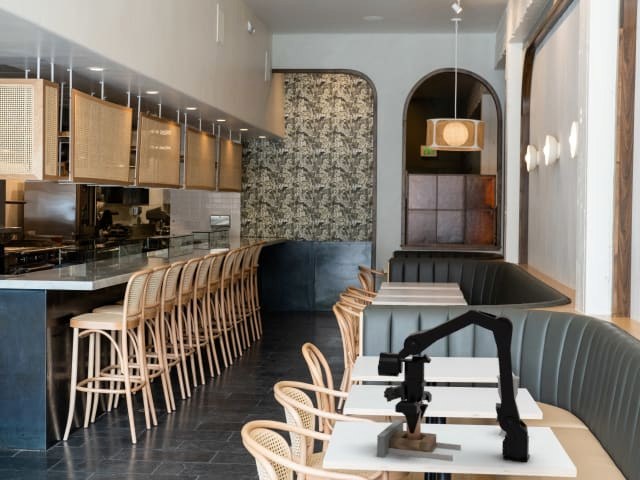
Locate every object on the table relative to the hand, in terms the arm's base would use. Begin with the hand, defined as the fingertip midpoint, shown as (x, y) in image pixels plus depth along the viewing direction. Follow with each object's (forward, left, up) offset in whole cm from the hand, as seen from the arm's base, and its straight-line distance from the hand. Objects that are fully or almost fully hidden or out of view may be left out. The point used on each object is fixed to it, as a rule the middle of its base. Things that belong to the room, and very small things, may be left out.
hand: (413, 431), depth 232 cm
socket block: (0, 0, -5) cm, 5 cm away
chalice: (-22, -28, -6) cm, 36 cm away
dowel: (0, 0, -2) cm, 3 cm away
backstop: (-2, 0, -6) cm, 6 cm away
